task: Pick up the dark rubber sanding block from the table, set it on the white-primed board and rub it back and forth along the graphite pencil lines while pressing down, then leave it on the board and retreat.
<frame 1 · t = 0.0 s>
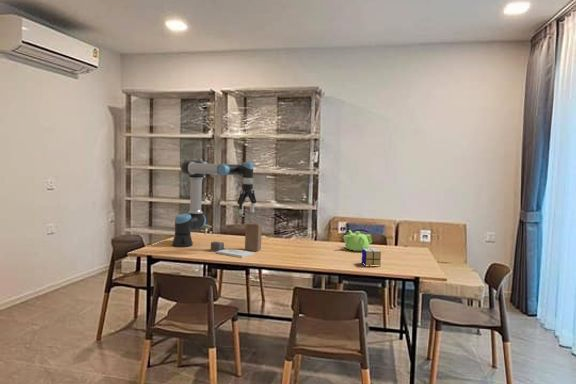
hand: (246, 213, 313), 28 cm above the table, fingers open, 13 cm apart
puzzle cube: (370, 265, 286), on the table
board: (235, 253, 305), on the table
sanding block: (217, 250, 314), on the table
teapot: (355, 249, 337), on the table
wooden block: (252, 250, 320), on the table
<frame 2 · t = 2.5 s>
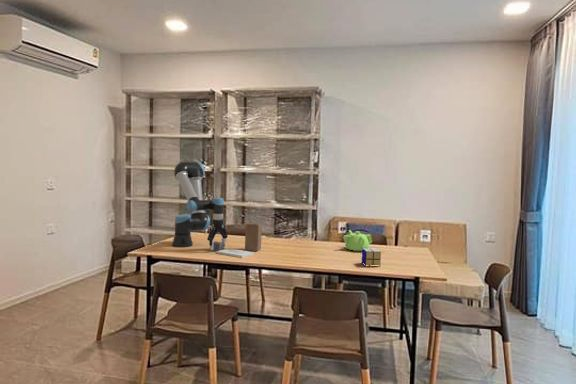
hand: (217, 248, 313), 2 cm above the table, fingers open, 13 cm apart
nothing on the table moved.
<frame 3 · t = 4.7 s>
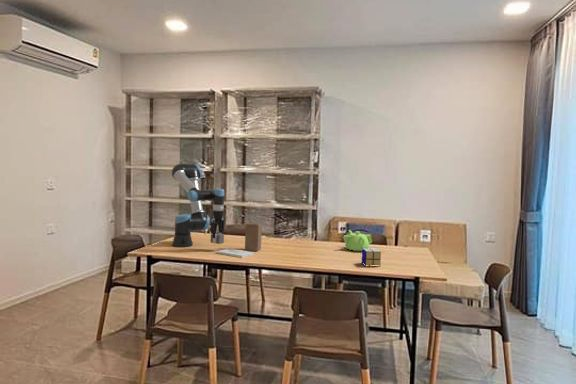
hand: (216, 241, 314), 6 cm above the table, fingers closed on sanding block, 5 cm apart
sanding block: (217, 242, 314), point 6 cm above the table, touching gripper
everything else where it was.
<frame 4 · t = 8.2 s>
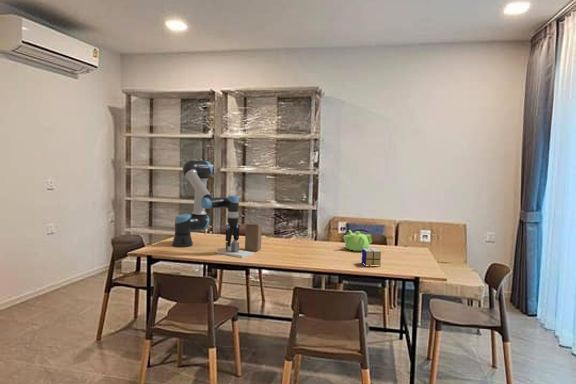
hand: (232, 250, 306), 2 cm above the table, fingers closed on sanding block, 5 cm apart
sanding block: (232, 250, 306), point 2 cm above the table, touching gripper
everything else where it was.
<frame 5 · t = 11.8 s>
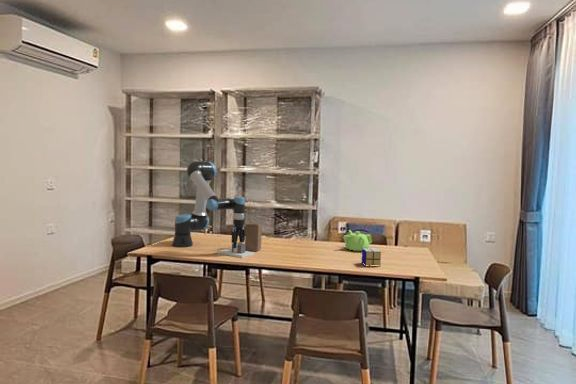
hand: (237, 251, 303), 2 cm above the table, fingers closed on sanding block, 5 cm apart
sanding block: (238, 252, 303), point 2 cm above the table, touching gripper
everything else where it was.
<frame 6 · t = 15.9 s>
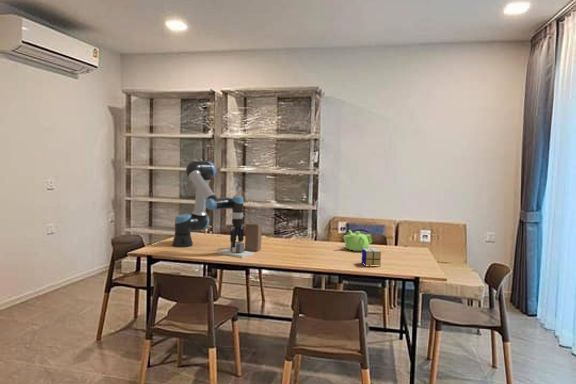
hand: (236, 251, 304), 2 cm above the table, fingers closed on sanding block, 5 cm apart
sanding block: (237, 251, 304), point 2 cm above the table, touching gripper
everything else where it was.
when the fingers open (2 cm above the table, at t = 19.4 s): sanding block stays where it is, resting on board.
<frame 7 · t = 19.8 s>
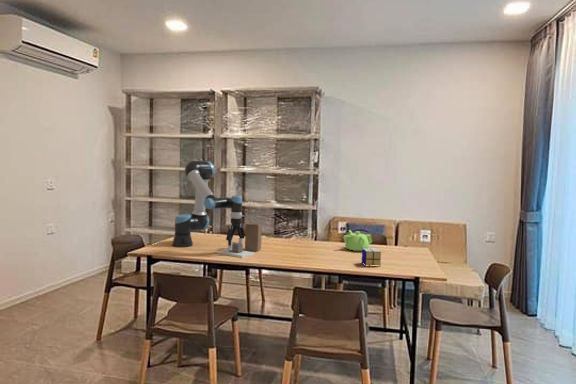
hand: (235, 248, 304), 4 cm above the table, fingers open, 11 cm apart
sanding block: (235, 251, 304), point 2 cm above the table, touching board
everything else where it was.
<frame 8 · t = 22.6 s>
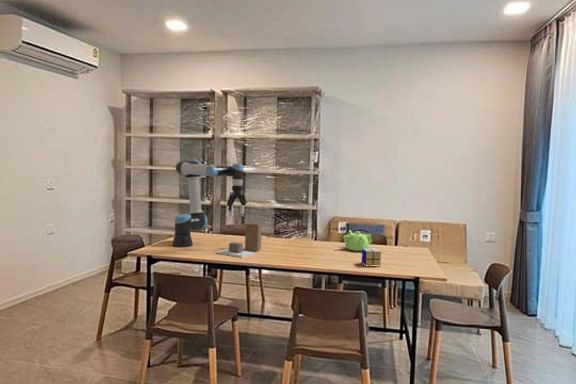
hand: (236, 214, 311), 27 cm above the table, fingers open, 13 cm apart
nothing on the table moved.
at the end: sanding block inside the target area on the board (0.4 cm from its centre), point 1.5 cm above the board's base; sanding block tilted 0°; sanding block moved 17.5 cm from its start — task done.
